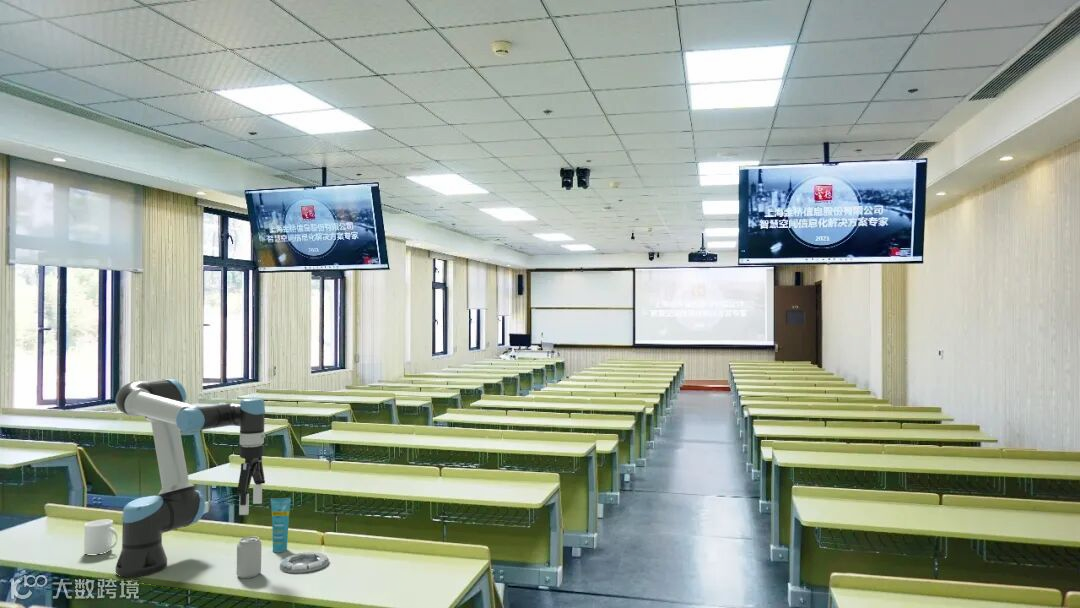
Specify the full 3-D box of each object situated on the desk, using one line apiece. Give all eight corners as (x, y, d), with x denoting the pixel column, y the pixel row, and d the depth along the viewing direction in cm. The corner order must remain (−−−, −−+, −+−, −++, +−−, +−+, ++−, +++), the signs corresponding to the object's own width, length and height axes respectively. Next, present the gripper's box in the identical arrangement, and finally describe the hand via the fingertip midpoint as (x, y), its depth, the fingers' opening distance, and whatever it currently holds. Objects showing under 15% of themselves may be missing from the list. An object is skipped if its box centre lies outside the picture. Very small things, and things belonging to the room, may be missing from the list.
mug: (107, 557, 240) (107, 527, 240) (78, 555, 242) (78, 525, 242) (125, 549, 248) (126, 520, 248) (97, 547, 250) (98, 518, 251)
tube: (267, 553, 244) (268, 500, 245) (271, 548, 249) (272, 496, 250) (289, 552, 246) (289, 499, 246) (292, 547, 250) (292, 496, 251)
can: (251, 580, 219) (252, 542, 219) (231, 578, 220) (232, 541, 221) (265, 571, 226) (266, 535, 226) (245, 570, 228) (246, 534, 228)
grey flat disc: (273, 574, 224) (273, 568, 224) (287, 557, 240) (287, 552, 240) (322, 572, 225) (322, 566, 225) (333, 556, 241) (333, 550, 241)
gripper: (251, 451, 213) (250, 519, 212) (274, 438, 238) (273, 498, 237) (226, 452, 212) (225, 519, 211) (252, 438, 237) (251, 499, 236)
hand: (250, 509), depth 224 cm, fingers open, 13 cm apart
